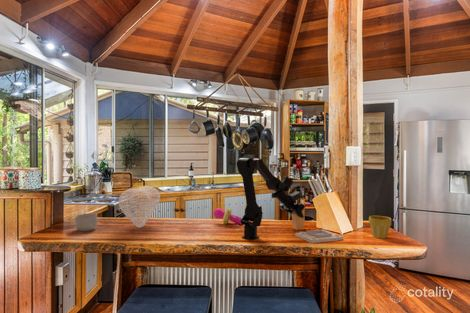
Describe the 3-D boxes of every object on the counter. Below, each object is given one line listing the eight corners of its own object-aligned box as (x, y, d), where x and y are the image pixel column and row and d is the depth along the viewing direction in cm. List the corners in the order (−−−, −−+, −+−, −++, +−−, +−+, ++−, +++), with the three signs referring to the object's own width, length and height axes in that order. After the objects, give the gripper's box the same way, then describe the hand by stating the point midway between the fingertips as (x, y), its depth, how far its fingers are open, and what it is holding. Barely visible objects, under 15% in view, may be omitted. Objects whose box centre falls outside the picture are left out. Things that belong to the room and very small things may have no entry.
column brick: (296, 230, 170) (297, 205, 170) (292, 228, 175) (292, 204, 175) (304, 229, 172) (304, 205, 172) (299, 227, 176) (299, 203, 176)
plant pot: (389, 240, 151) (390, 220, 151) (366, 237, 157) (367, 217, 157) (392, 236, 160) (392, 217, 160) (370, 233, 165) (370, 214, 165)
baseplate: (311, 243, 145) (311, 237, 145) (295, 235, 158) (295, 230, 158) (343, 239, 152) (343, 234, 152) (324, 232, 165) (325, 227, 165)
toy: (238, 228, 175) (244, 211, 179) (209, 217, 178) (215, 201, 182) (239, 231, 185) (245, 215, 188) (211, 221, 188) (217, 205, 191)
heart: (140, 234, 156) (140, 190, 156) (112, 232, 160) (112, 189, 159) (164, 222, 184) (164, 185, 184) (139, 221, 187) (140, 184, 187)
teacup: (96, 231, 162) (96, 216, 162) (73, 233, 158) (73, 217, 158) (97, 225, 175) (97, 211, 175) (76, 227, 171) (76, 212, 171)
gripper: (302, 188, 163) (319, 208, 167) (284, 185, 180) (300, 203, 184) (288, 204, 160) (306, 224, 164) (271, 199, 178) (288, 217, 182)
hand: (300, 216), depth 174 cm, fingers closed on column brick, 5 cm apart
